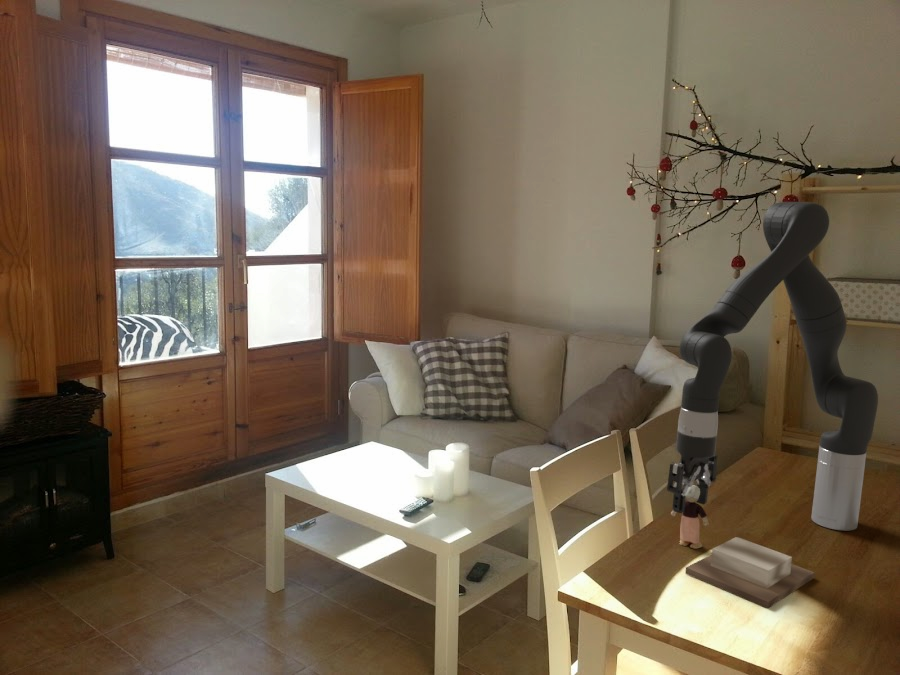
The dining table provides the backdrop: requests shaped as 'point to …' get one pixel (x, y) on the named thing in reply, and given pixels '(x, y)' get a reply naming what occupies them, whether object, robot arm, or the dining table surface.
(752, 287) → the robot arm
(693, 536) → the grandmother figurine
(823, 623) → the dining table surface
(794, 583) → the plinth
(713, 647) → the dining table surface
